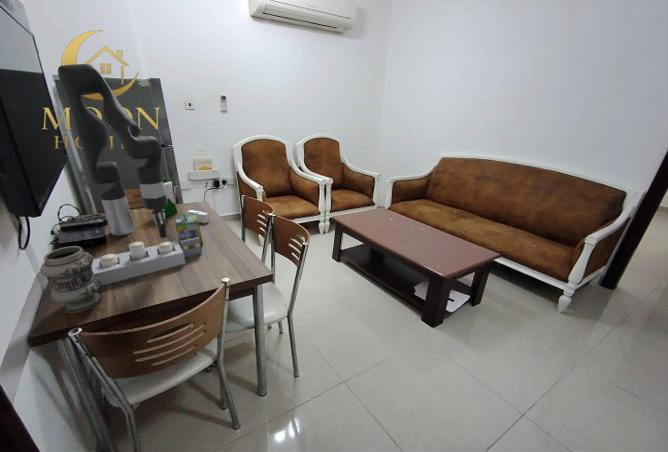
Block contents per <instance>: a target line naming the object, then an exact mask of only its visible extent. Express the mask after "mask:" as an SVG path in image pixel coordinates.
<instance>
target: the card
mask: <svg viewBox="0 0 668 452" xmlns="http://www.w3.org/2000/svg"><path fill="white" fill-rule="evenodd" d="M180 242H181V247H182V251H183V254H184V258H187V257H190V256H195V255H198V254H202V253H203V250H202V245H201V244H200V238H199V237H198V238H193V239H189V240H184V241H180Z"/></svg>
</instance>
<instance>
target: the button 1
mask: <svg viewBox="0 0 668 452" xmlns="http://www.w3.org/2000/svg"><path fill="white" fill-rule="evenodd" d="M99 258H100V262H101V265H102V268H105V267H109V266H113V265H118V261H117V258H116V253H115V254H114V253H110V254H109V253H108V254H105V255H102V256H100V257H99Z"/></svg>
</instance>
